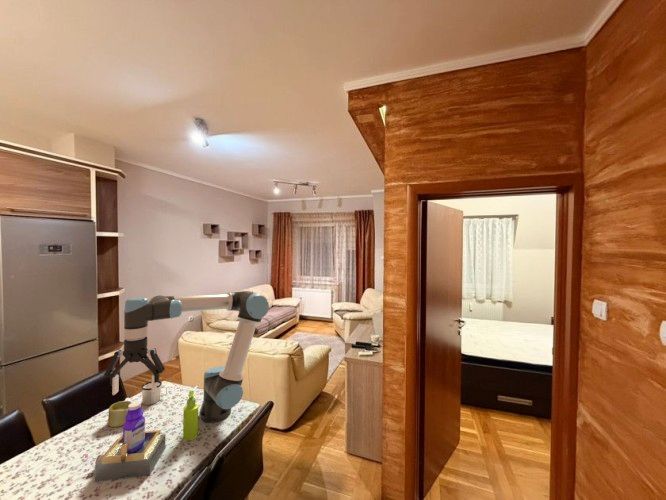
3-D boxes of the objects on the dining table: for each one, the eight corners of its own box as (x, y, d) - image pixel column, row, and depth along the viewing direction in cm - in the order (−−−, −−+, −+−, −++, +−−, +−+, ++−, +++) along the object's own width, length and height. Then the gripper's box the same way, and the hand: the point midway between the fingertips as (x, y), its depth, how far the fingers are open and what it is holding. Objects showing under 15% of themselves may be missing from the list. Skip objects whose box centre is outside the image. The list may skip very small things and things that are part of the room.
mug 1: (97, 422, 130) (108, 400, 132) (120, 417, 139) (129, 397, 141) (111, 435, 125) (122, 412, 127) (134, 429, 134) (143, 408, 136)
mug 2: (139, 407, 146) (139, 390, 146) (142, 398, 155) (143, 382, 155) (165, 402, 151) (165, 386, 151) (167, 394, 160) (168, 378, 160)
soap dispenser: (182, 443, 119) (184, 397, 120) (182, 434, 126) (183, 390, 126) (198, 439, 122) (199, 394, 122) (197, 430, 128) (198, 387, 128)
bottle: (131, 456, 104) (132, 409, 104) (119, 453, 105) (120, 408, 105) (147, 443, 111) (148, 399, 111) (135, 441, 112) (136, 398, 112)
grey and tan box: (165, 447, 117) (166, 419, 117) (149, 476, 102) (150, 443, 102) (109, 453, 113) (110, 424, 113) (84, 483, 98) (85, 450, 98)
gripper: (174, 333, 114) (173, 384, 114) (105, 336, 109) (104, 389, 109) (166, 339, 107) (165, 394, 107) (93, 342, 102) (92, 399, 102)
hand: (134, 391), depth 108 cm, fingers open, 13 cm apart
